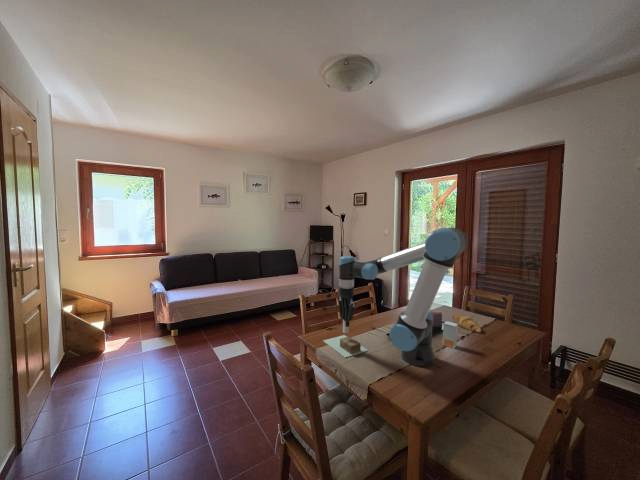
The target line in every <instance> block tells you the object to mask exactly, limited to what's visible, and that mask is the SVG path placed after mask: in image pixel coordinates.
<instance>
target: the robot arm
mask: <svg viewBox="0 0 640 480" xmlns="http://www.w3.org/2000/svg"><path fill="white" fill-rule="evenodd" d="M468 244H469V243H468V237H467V235H466V233H465V232H464V231H463V230H461V229H460V228H457V227H440V228H437V229H435V230H433V231H432V232H430V233H429V234H428V235H427V237H426V238H425V241H424V242H421V243H419V244H416V245H413V246H410V247H407V248H405V249H402V250H399V251H396V252H393V253H391V254H389V255H385V256H381V257H380V258H379V257H378V258H376V259H373V260H370V261H365V262H363V261H362V262H361V261H356V259H355V258H356V257H354V256H352V255H344V256H342V255H341V256H340V258H339V264H338V265H339V266H338V267H339V270H338V271H339V277H338V278H339V279H338V286H339V287H338V294H339V295H340V296H339V297H337V298H336V299H337V302H338V310H339V311H338V312H339V316H340V318H341V319H342V332H343V333H344V334H347V333H349V332H350V321H353V318H354V313H355V308H356V305H357V304H356V303H355V302H354V301H353V300H354V298H353V296H354V295H355V278H359V279H364V280H375V279H376V278H377V276H378V275H380V274H384V273H388V272H391V271H394V270H396V269H400V268H403V267H406V266H410V265H412V264H416V263H419V262H422V261H424V263H423V266H422V268H421V270H420V273H419V275H418V278H417V280H416V283H415V286H414V288H413V291H412V293H411V294H410V298H409V300H408V303H407V305H406V308H405V310H402V311H400V313H399V315H398V318H397V320H396V322H395V324H393V325H391V327H390V329H389V339H390V340H391V343H392V345H394V347H395V348H396V349H398V350H400V356H401V358H402V360H403V361H405V362H406V363H408V364H410V365H413V366H417V367H430V366H433V365H434V364H435V362H436V356H435V353H434V348H433V346H432V345H433V344H432V341H433V322H434V319H433V317H434V316H433V314H432V312H430V310H431V308H432V305H433V303H434V301H435V298H436V296H437V294H438V292H439V289H440V287H441V284H442V282H443V280H444V278H445V275H446V273H447V271H448V270H449V269H452V268H454V266H455V264H456V263H457V262H456V261H457V259H458V257H459V255H460V254H462V253H463V252H464V251H466V248H467V247H468Z"/></svg>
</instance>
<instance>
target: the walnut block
mask: <svg viewBox="0 0 640 480" xmlns="http://www.w3.org/2000/svg"><path fill="white" fill-rule="evenodd" d="M361 346H362V343H361V342H359V341H357V340H356V339H354V337H351V336H347V337H346V338H342V339H340V347H341V348H343V349H344V350H345V351H347V352H348V353H350V354H353V353H356V352H360V349H361Z"/></svg>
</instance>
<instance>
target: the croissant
mask: <svg viewBox="0 0 640 480" xmlns="http://www.w3.org/2000/svg"><path fill="white" fill-rule="evenodd" d="M452 319H453V321H454V323H455V324H458V327H460V328H463V329H466V330H469V331H473V332H475V333H482V329H481V326H479V324H478V323H477V321H476V320H474V319H473V318H472V317H470V316H468V315H466V314H464V315H459V316H458V315H452Z"/></svg>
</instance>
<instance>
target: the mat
mask: <svg viewBox="0 0 640 480" xmlns="http://www.w3.org/2000/svg"><path fill="white" fill-rule="evenodd" d="M346 337H348V336H347V335H345V334H343V335H339V336H336V337H331V338H328V339H323V340H322V342H324V343H325V344H326V345H327V346H329V347H330V348H331V349H332V348H333V349H332V350H334V351H335V350H336V351H337V352H336V351H335V352H336V353H337V354H339V353H340V354H341V357H343V356H344V357H345V358H344V357H343V358H344V359H347V358H350V356H351V357H353V355H354V356H356V355H359V354H363V353H365V352H369V350H368V349H367V348H365V347H364V346H362V345H361V349H360V352H356V353H353V354H350V353H348V352H347V351H345V350H344V349H343V348H341V347H340V339H342V338H346ZM340 354H339V355H340ZM346 357H347V358H346Z"/></svg>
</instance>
